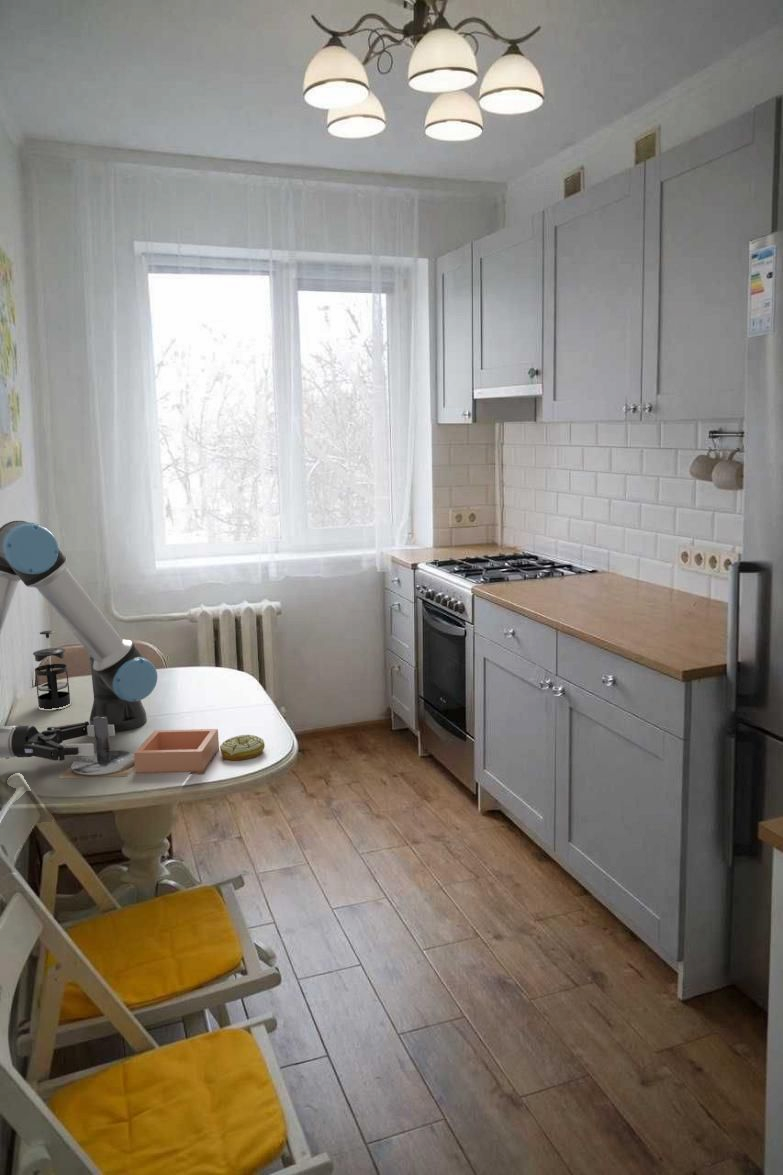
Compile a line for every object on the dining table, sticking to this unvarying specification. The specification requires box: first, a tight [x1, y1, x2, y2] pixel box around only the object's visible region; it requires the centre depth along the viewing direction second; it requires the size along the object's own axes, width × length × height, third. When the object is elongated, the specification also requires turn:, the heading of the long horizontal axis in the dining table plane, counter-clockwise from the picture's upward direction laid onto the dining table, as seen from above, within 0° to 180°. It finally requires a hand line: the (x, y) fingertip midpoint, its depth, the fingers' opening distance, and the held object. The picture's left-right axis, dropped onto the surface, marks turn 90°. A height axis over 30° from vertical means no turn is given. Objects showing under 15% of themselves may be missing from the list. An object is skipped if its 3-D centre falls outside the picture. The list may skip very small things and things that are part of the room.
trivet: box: [58, 751, 135, 779], centre depth 214 cm, size 16×16×1 cm
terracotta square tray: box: [133, 728, 220, 775], centre depth 215 cm, size 16×16×6 cm
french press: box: [32, 630, 71, 709], centre depth 265 cm, size 12×9×23 cm
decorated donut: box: [219, 734, 266, 761], centre depth 219 cm, size 10×11×4 cm
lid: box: [70, 715, 135, 776], centre depth 213 cm, size 15×15×12 cm
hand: (104, 739), depth 213 cm, fingers open, 13 cm apart
